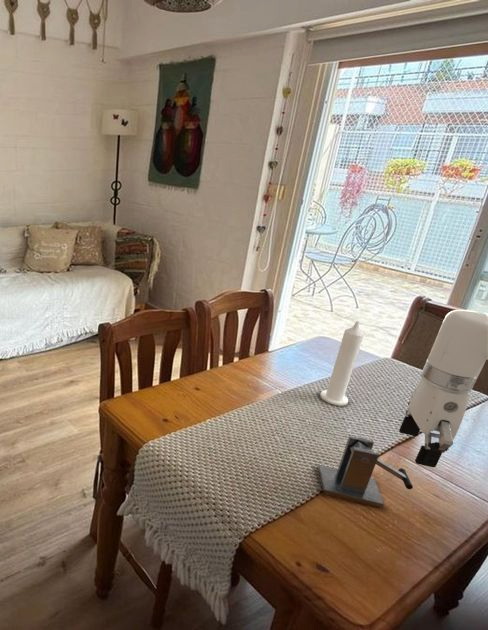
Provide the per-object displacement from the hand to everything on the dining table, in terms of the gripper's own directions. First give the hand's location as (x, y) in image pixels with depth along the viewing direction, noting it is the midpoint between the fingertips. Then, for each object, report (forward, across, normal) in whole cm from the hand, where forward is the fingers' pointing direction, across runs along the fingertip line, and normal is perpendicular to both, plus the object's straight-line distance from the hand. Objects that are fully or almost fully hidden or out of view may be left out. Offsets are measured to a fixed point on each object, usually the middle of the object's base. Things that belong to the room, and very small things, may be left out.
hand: (415, 448), depth 88 cm
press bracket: (+14, 0, +8) cm, 16 cm away
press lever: (+7, 0, +5) cm, 8 cm away
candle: (+14, +38, +5) cm, 41 cm away
